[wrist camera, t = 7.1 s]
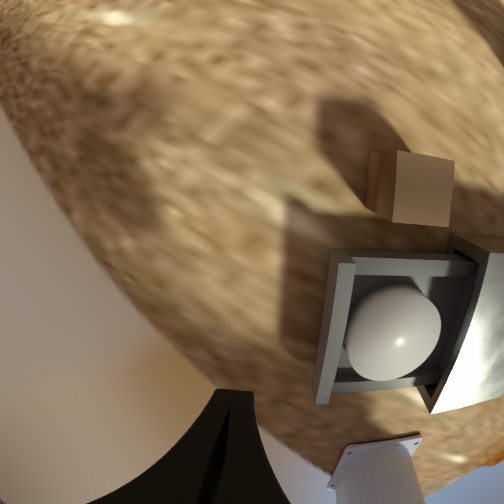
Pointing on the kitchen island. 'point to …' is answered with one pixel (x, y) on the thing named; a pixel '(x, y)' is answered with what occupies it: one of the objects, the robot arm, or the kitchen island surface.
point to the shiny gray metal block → (475, 332)
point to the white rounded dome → (391, 332)
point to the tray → (376, 275)
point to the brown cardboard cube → (410, 187)
